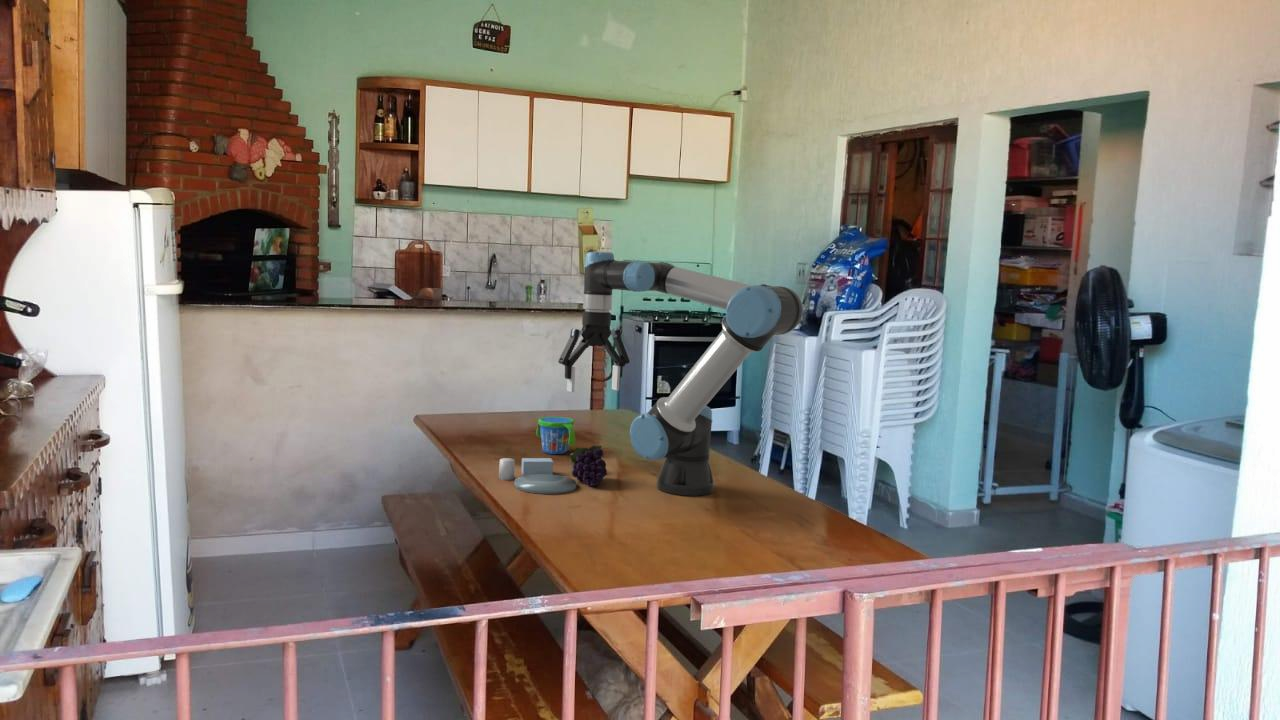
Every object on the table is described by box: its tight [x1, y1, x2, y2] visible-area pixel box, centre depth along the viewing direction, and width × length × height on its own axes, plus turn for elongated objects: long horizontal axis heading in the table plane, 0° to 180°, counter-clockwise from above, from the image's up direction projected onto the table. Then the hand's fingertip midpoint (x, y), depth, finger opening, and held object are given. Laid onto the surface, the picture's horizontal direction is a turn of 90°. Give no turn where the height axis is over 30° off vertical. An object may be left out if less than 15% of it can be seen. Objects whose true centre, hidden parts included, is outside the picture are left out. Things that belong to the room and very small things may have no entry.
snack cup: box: [535, 416, 576, 455], centre depth 283 cm, size 16×10×10 cm
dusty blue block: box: [520, 457, 554, 476], centre depth 256 cm, size 4×8×4 cm, turn 105°
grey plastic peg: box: [498, 457, 516, 481], centre depth 249 cm, size 4×4×5 cm
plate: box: [514, 474, 577, 495], centre depth 243 cm, size 16×16×1 cm
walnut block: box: [568, 453, 574, 473], centre depth 262 cm, size 5×5×5 cm
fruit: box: [568, 444, 608, 487], centre depth 250 cm, size 10×11×15 cm
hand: (593, 390), depth 249 cm, fingers open, 13 cm apart
